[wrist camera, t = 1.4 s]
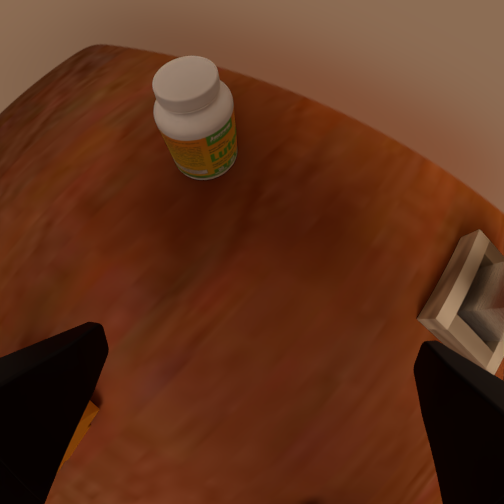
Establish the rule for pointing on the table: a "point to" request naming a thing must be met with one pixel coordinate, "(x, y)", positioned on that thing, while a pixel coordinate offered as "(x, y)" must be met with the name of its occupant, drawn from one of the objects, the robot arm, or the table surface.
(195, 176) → the supplement bottle
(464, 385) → the robot arm
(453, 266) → the collar
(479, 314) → the steel peg
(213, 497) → the table surface
